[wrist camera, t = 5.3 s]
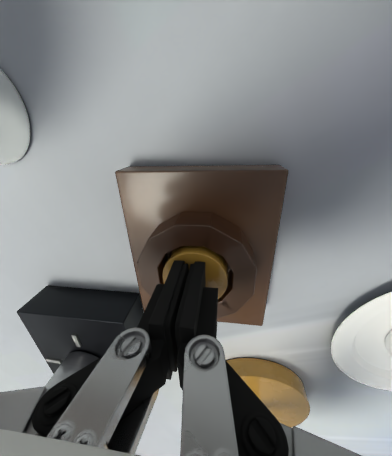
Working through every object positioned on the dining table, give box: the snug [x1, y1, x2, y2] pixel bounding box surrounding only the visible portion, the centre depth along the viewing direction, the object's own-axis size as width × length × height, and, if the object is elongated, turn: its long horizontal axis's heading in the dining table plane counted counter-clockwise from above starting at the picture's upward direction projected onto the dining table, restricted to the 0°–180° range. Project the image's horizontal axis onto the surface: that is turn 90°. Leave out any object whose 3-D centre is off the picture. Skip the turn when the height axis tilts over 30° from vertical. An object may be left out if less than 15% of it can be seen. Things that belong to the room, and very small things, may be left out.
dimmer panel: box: [17, 286, 143, 373], centre depth 19 cm, size 12×9×3 cm
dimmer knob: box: [45, 351, 99, 389], centre depth 15 cm, size 4×4×5 cm
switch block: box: [115, 165, 288, 326], centre depth 12 cm, size 11×9×4 cm
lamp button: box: [162, 246, 228, 299], centre depth 11 cm, size 4×4×2 cm
